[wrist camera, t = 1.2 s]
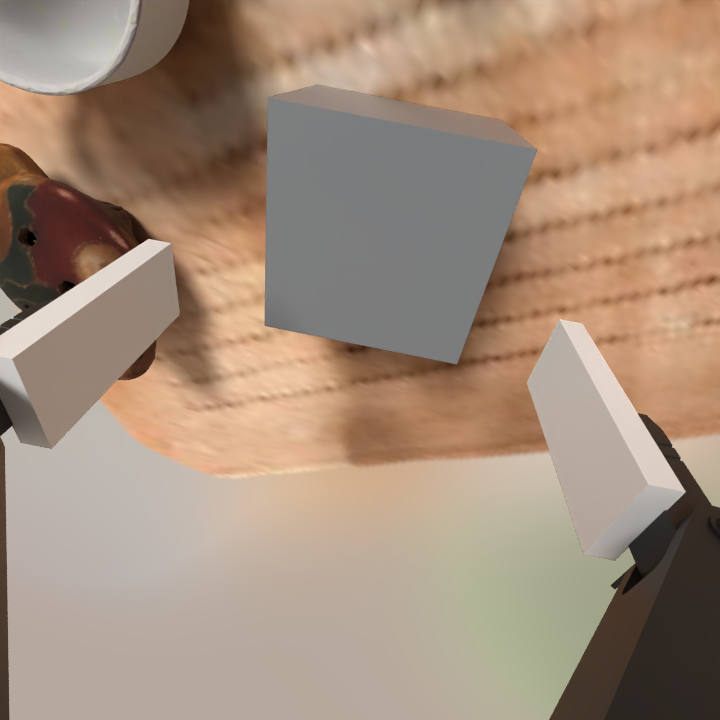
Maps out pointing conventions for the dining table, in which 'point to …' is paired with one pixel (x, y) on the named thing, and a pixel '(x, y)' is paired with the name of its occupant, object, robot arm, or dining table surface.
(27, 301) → the decorative turtle
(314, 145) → the matte grey cube
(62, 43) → the teacup
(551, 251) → the dining table surface
